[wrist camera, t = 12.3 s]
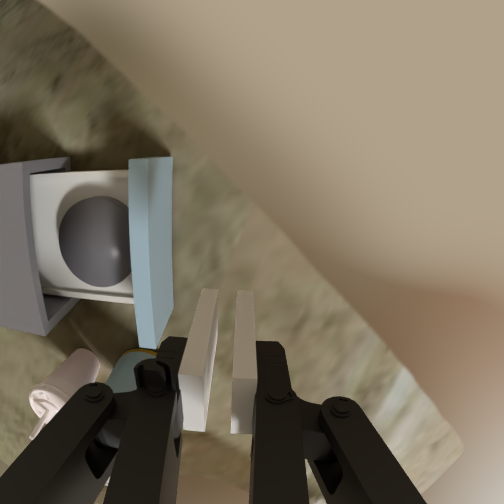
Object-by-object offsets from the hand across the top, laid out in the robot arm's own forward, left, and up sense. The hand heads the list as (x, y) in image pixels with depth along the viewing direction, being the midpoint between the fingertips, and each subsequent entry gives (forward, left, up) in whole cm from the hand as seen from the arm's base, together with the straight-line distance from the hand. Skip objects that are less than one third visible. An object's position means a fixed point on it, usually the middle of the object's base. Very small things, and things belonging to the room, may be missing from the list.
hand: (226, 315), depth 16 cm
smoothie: (-18, -16, -15) cm, 28 cm away
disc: (-12, 0, -12) cm, 17 cm away
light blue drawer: (-15, 0, -14) cm, 20 cm away
